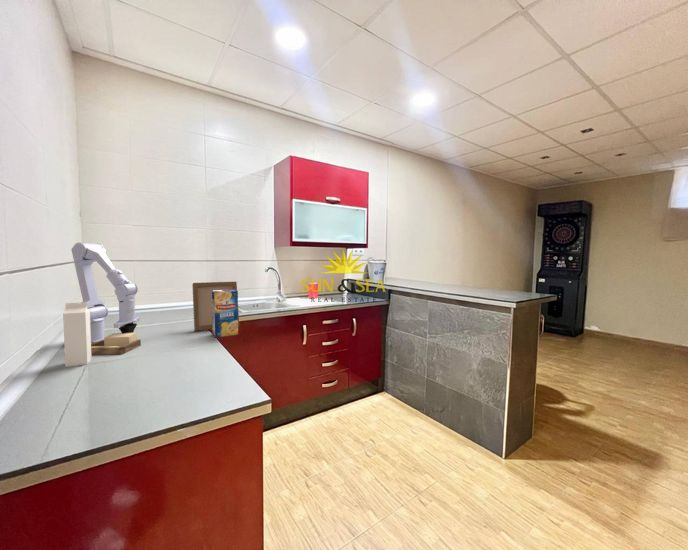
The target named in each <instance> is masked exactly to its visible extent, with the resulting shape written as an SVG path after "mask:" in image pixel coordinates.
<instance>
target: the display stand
mask: <svg viewBox="0 0 688 550" xmlns="http://www.w3.org/2000/svg"><path fill="white" fill-rule="evenodd" d="M141 345H142V340H141V339H137V340H135V341H133V342H131V343H129V344H126V345H124V346H122V347H120V346H104V340H100V341H97V342H91V355H124V354H126V353H128V352H131V351H132V350H134V349H136V348H139V347H141Z"/></svg>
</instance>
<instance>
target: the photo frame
mask: <svg viewBox="0 0 688 550" xmlns="http://www.w3.org/2000/svg"><path fill="white" fill-rule="evenodd" d="M215 290H237V291H238V283H237V281H214V282H193V283H192V303H193V304H192V309H193V329H194V330H193V331H194V332H195V331H206V330H207V331H208V330H212V291H215ZM238 327H240V315H239V311H238Z"/></svg>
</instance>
